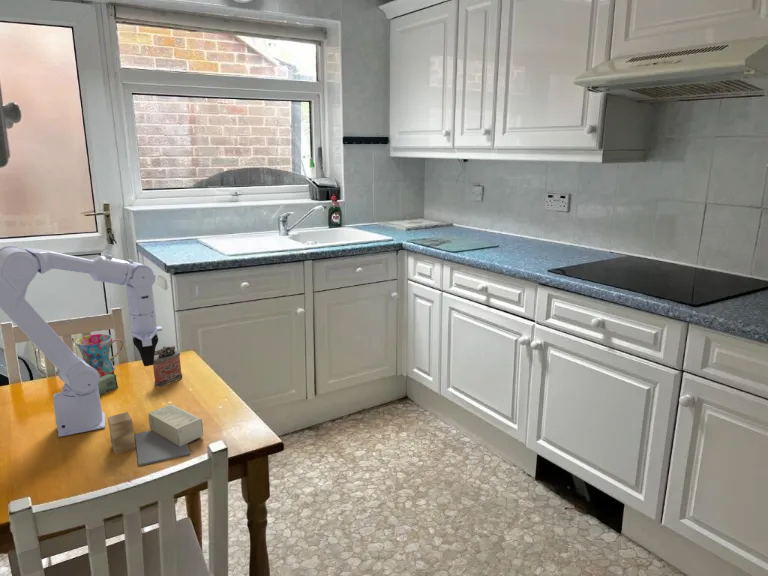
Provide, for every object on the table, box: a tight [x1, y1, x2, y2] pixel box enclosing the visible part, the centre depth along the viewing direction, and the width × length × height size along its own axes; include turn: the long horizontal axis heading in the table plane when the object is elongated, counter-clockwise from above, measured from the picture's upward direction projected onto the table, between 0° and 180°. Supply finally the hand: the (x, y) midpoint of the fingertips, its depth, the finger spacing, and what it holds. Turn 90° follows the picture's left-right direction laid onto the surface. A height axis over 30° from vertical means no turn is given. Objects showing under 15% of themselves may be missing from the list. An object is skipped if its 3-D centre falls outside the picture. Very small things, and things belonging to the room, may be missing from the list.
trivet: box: [134, 430, 191, 467], centre depth 124 cm, size 10×14×1 cm
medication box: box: [98, 373, 119, 396], centre depth 149 cm, size 12×3×4 cm, turn 147°
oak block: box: [107, 411, 137, 455], centre depth 122 cm, size 4×4×7 cm
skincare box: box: [147, 404, 204, 446], centre depth 128 cm, size 6×4×12 cm
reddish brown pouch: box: [152, 344, 183, 387], centre depth 156 cm, size 8×3×10 cm, turn 144°
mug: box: [75, 333, 124, 377], centre depth 162 cm, size 12×9×11 cm
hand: (148, 364), depth 141 cm, fingers closed
